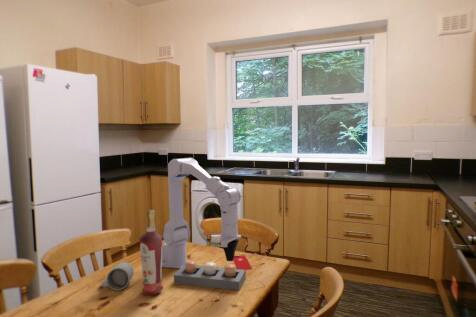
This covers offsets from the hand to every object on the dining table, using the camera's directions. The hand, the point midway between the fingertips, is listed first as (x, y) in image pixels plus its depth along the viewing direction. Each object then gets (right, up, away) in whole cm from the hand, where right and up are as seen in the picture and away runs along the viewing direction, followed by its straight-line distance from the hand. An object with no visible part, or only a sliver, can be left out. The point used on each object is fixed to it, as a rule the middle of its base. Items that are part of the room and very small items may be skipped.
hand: (230, 260), depth 117 cm
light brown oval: (0, -5, 0) cm, 5 cm away
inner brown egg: (-15, -5, +4) cm, 16 cm away
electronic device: (+4, -7, +19) cm, 21 cm away
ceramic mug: (-40, -9, -1) cm, 41 cm away
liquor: (-26, -9, -6) cm, 28 cm away
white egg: (-7, -5, +2) cm, 9 cm away
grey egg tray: (-7, -8, +2) cm, 11 cm away
